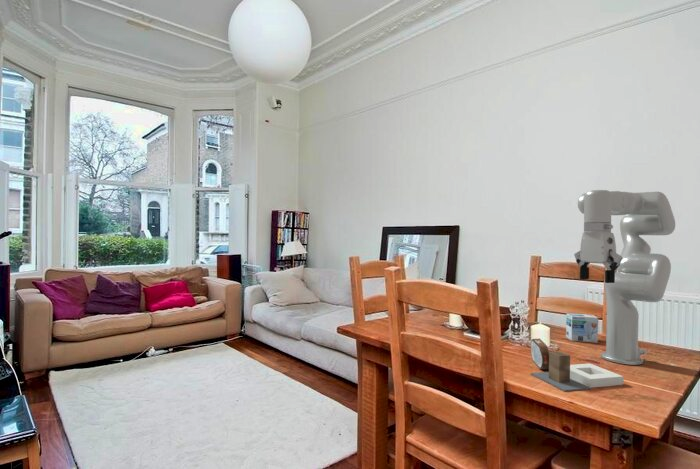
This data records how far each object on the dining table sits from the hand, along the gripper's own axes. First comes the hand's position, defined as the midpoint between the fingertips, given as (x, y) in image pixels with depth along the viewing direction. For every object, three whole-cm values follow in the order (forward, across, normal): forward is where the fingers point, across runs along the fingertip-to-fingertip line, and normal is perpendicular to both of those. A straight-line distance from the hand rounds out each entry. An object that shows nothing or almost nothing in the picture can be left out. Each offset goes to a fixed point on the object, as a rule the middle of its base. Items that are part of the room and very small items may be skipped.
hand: (596, 280), depth 127 cm
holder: (+30, -4, +6) cm, 31 cm away
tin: (+30, +10, +13) cm, 34 cm away
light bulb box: (+31, +36, -30) cm, 56 cm away
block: (+29, -4, +18) cm, 35 cm away
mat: (+30, -4, +18) cm, 35 cm away
